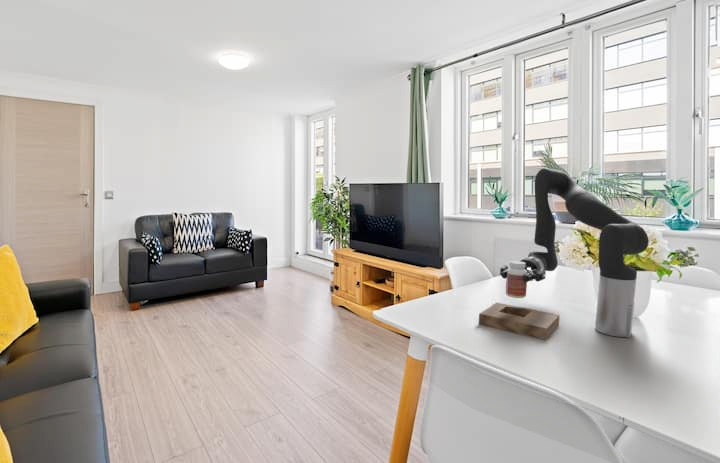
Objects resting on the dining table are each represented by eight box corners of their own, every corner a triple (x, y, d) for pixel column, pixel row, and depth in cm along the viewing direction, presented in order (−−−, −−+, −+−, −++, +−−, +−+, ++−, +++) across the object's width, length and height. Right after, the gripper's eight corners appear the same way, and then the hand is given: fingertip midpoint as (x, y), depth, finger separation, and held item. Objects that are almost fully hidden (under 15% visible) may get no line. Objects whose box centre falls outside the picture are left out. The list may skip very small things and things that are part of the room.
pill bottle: (529, 298, 124) (532, 264, 122) (511, 298, 123) (513, 264, 121) (519, 292, 130) (521, 260, 128) (502, 293, 129) (504, 260, 127)
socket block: (558, 325, 124) (559, 314, 124) (546, 340, 112) (546, 328, 111) (496, 312, 137) (496, 302, 136) (478, 324, 124) (479, 313, 124)
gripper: (509, 255, 140) (492, 262, 127) (552, 260, 131) (539, 269, 119) (508, 275, 141) (491, 284, 128) (551, 282, 132) (537, 292, 120)
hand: (514, 277), depth 124 cm, fingers closed on pill bottle, 6 cm apart
